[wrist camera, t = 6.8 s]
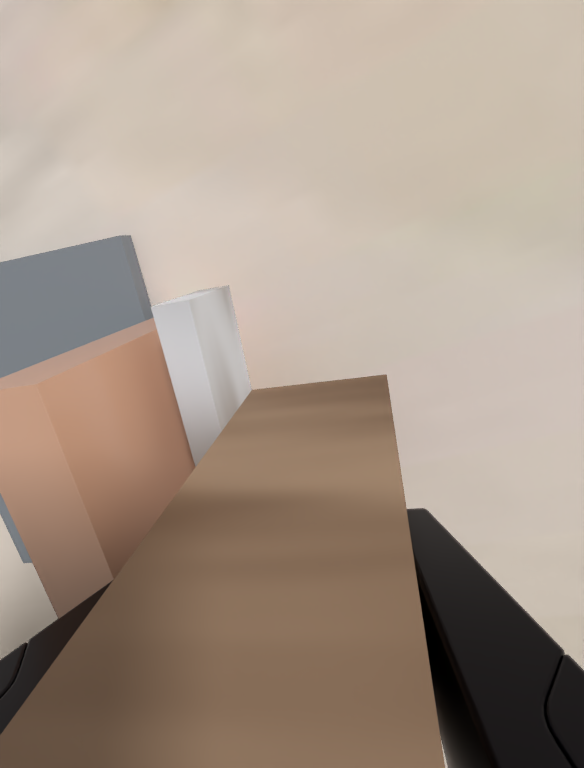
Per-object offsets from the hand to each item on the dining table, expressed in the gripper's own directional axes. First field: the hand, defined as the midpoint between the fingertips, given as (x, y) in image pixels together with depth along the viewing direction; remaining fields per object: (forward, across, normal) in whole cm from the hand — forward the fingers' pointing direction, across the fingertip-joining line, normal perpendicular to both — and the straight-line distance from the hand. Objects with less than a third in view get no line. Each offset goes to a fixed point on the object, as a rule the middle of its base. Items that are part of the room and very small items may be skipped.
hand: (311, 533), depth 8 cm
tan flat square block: (+7, +4, 0) cm, 8 cm away
